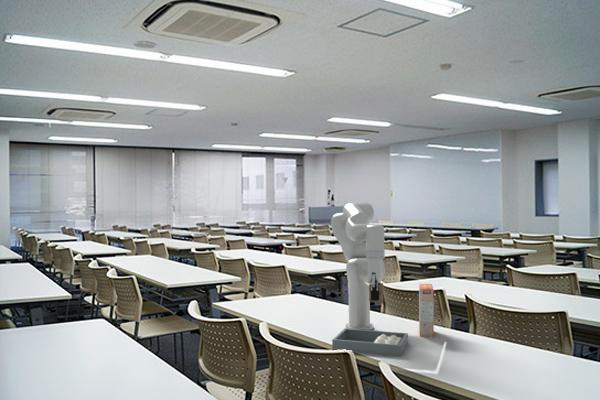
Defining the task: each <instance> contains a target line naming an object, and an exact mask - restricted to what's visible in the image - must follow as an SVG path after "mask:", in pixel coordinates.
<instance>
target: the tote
mask: <svg viewBox="0 0 600 400" xmlns="http://www.w3.org/2000/svg"><path fill="white" fill-rule="evenodd" d="M382 334H384V335H386V336H387V337H391V336H392V335H395V336H397V337H399V338H401V341H400V343H399V344H398V345H396V344H385V343H374V341H375V340H376V339H377V337H378V336H381V335H382ZM331 342H332V344H331V345H332V346H331V347H332V348H331V349H332V351H334V350H337V349H346V350H352V351H353V352H352V353H358V354H359V353H360V354H368V355H369V354H370V355H379V356H380V355H381V356H388V357H391V356H392V357H399V358H402V355H403V353H404V352H405V349H406V348H407V346H408V344H409V333H406V332H396V331H395V332H394V331H383V330H382V331H381V330H372V329H371V330H358V329H347V328H344V329H342V330H341V331H340V332H339V333H337V334H336V336H335V337H333V338H332V341H331Z"/></svg>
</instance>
